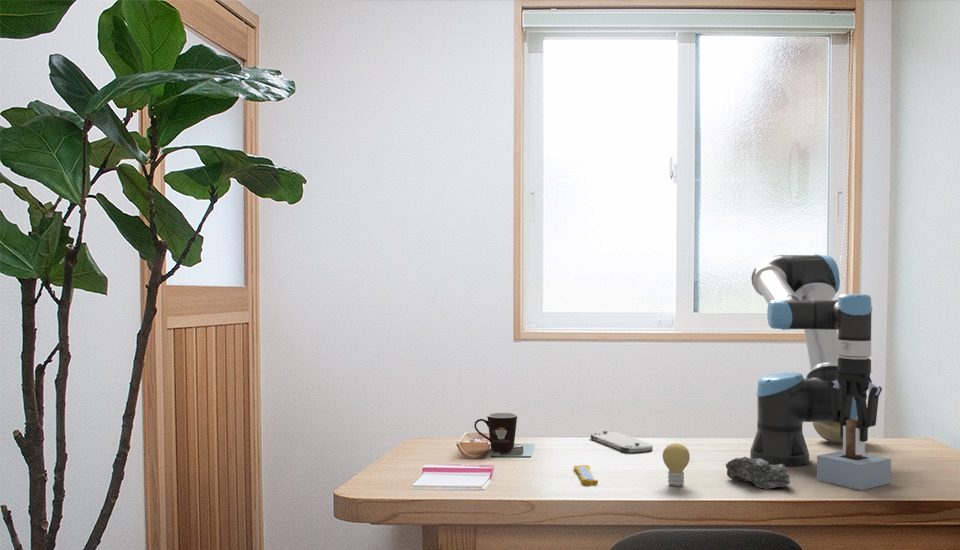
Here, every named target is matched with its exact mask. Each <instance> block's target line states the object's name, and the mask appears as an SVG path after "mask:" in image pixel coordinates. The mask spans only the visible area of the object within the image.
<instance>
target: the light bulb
mask: <svg viewBox="0 0 960 550" xmlns="http://www.w3.org/2000/svg"><path fill="white" fill-rule="evenodd" d="M690 455H691V454H690V451H689V449H688V448H687V447H686V446H685V445H683V444H681V443H674V442H673V443H670V444H667V445H666V447H665V448H664V450H663V451H662V461H663V463H664V464H665V466H666V467H667V469H668V473H667V475H668V476H667V479H668V480H667V484H669V485H670V486H673V487H680V486H683V485H684V483H685V476H684V475H685V473H684V470H685V468H686V467H688V465H689V463H690V460H691V459H690Z"/></svg>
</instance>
